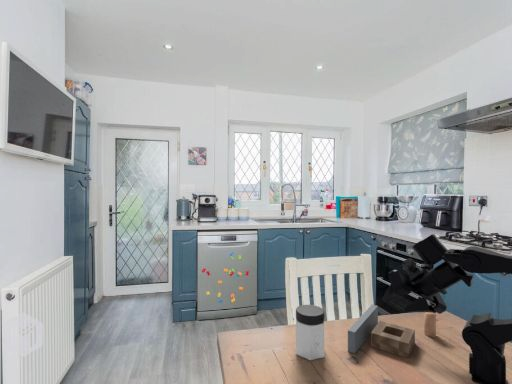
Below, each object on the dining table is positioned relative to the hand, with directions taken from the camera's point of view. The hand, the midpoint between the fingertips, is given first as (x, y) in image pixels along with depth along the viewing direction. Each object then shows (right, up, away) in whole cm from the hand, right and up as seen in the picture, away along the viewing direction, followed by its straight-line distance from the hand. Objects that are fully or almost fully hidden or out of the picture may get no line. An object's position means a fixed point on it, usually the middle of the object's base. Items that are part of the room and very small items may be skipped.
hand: (394, 305), depth 83 cm
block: (0, -12, +1) cm, 12 cm away
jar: (-26, -12, -3) cm, 29 cm away
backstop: (-7, -12, +6) cm, 15 cm away
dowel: (+15, -12, +7) cm, 20 cm away
